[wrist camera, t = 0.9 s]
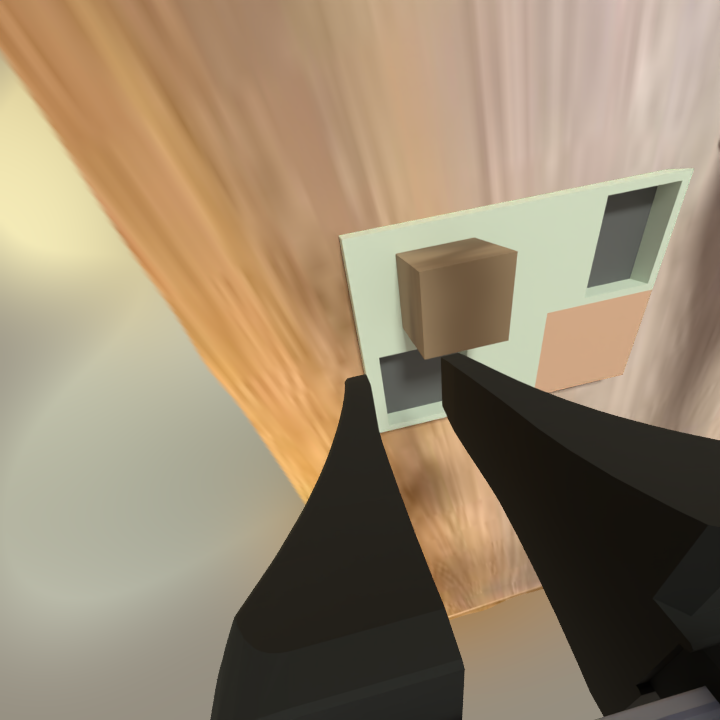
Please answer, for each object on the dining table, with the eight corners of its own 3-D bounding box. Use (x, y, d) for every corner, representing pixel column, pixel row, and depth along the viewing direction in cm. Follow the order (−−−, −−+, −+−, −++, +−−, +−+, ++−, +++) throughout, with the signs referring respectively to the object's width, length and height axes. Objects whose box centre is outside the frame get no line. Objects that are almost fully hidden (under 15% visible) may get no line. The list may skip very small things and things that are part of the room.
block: (474, 237, 17) (517, 251, 13) (472, 312, 19) (508, 340, 16) (395, 253, 17) (419, 272, 13) (402, 327, 19) (424, 359, 16)
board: (666, 169, 18) (694, 168, 17) (606, 364, 25) (622, 374, 24) (338, 235, 17) (341, 239, 16) (373, 420, 24) (377, 433, 23)
